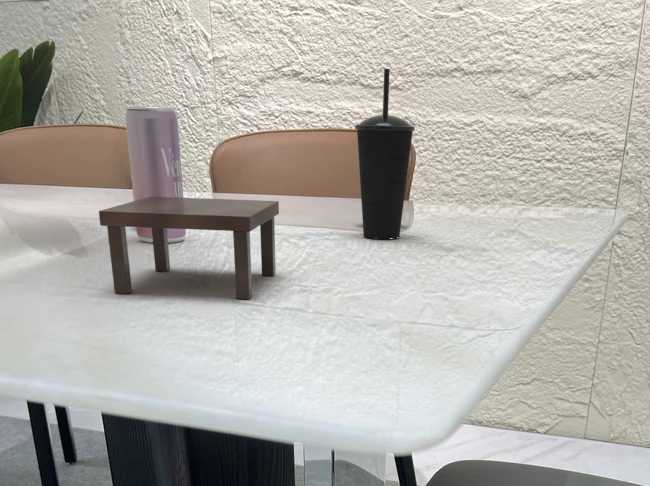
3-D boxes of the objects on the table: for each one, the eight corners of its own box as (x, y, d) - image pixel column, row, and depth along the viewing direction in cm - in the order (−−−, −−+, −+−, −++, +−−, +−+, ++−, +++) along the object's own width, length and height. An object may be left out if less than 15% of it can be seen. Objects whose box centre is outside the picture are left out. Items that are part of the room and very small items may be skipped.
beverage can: (161, 235, 100) (150, 107, 94) (196, 239, 98) (187, 108, 91) (127, 240, 96) (113, 106, 89) (162, 245, 93) (150, 107, 86)
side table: (108, 294, 68) (98, 211, 65) (156, 268, 80) (150, 196, 77) (252, 300, 67) (249, 216, 64) (280, 273, 79) (278, 201, 76)
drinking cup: (383, 231, 109) (389, 71, 100) (421, 238, 103) (430, 69, 95) (341, 235, 104) (343, 67, 95) (378, 243, 99) (384, 66, 90)
